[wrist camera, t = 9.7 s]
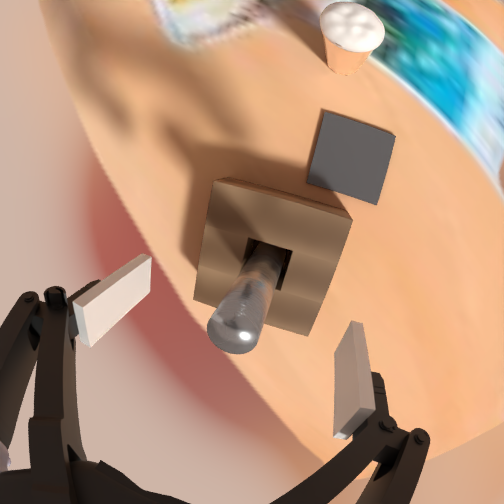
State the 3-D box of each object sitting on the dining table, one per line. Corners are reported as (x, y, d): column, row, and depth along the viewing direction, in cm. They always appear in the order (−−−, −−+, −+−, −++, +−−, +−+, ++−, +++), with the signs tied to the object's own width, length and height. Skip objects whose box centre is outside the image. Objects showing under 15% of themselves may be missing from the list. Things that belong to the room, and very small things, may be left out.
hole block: (227, 177, 26) (213, 180, 22) (347, 211, 25) (352, 220, 21) (207, 282, 31) (193, 299, 27) (309, 315, 29) (308, 336, 25)
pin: (260, 234, 27) (211, 304, 15) (289, 242, 27) (264, 321, 14) (253, 260, 28) (203, 343, 16) (281, 269, 28) (251, 360, 15)
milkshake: (307, 74, 21) (302, 29, 12) (330, 35, 19) (334, -20, 10) (351, 96, 21) (372, 62, 12) (372, 56, 19) (398, 9, 10)
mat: (324, 112, 22) (324, 111, 22) (394, 136, 21) (395, 136, 21) (306, 182, 25) (306, 182, 24) (375, 204, 24) (376, 205, 23)
